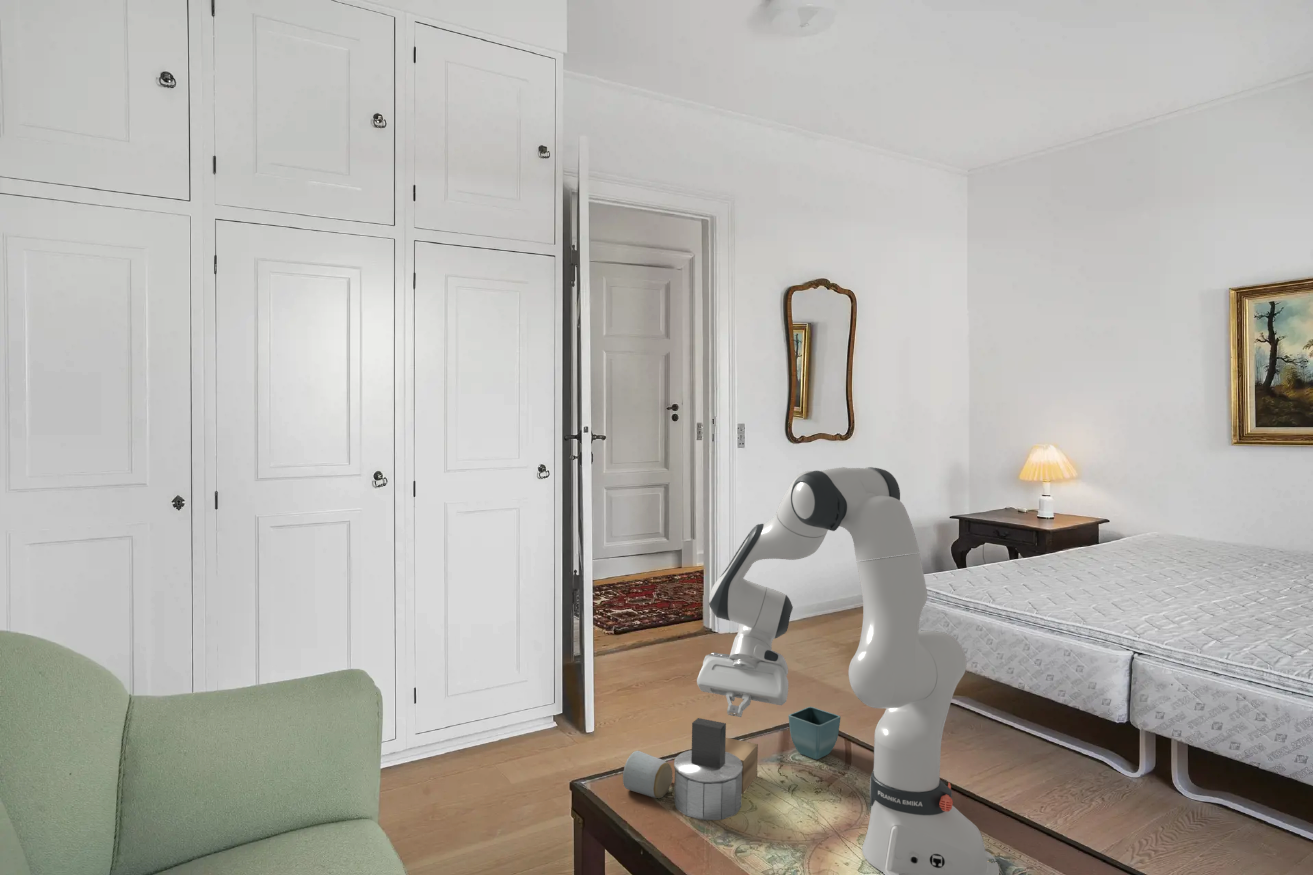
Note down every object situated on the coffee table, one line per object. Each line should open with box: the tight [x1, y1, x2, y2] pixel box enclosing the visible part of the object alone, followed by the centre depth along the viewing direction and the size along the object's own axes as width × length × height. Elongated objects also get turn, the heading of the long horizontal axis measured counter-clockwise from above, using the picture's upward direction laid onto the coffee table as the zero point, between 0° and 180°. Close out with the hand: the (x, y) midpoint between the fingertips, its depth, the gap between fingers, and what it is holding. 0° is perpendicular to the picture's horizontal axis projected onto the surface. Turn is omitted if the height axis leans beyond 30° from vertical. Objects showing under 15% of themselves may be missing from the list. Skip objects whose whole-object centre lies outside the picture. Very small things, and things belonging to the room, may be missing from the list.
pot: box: [673, 769, 743, 821], centre depth 156 cm, size 13×13×7 cm
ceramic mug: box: [622, 750, 673, 799], centre depth 161 cm, size 11×8×8 cm
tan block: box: [725, 737, 759, 795], centre depth 166 cm, size 10×9×7 cm
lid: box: [673, 717, 743, 783], centre depth 155 cm, size 14×14×9 cm
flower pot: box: [788, 706, 842, 760], centre depth 180 cm, size 9×9×9 cm
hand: (733, 714), depth 168 cm, fingers closed
